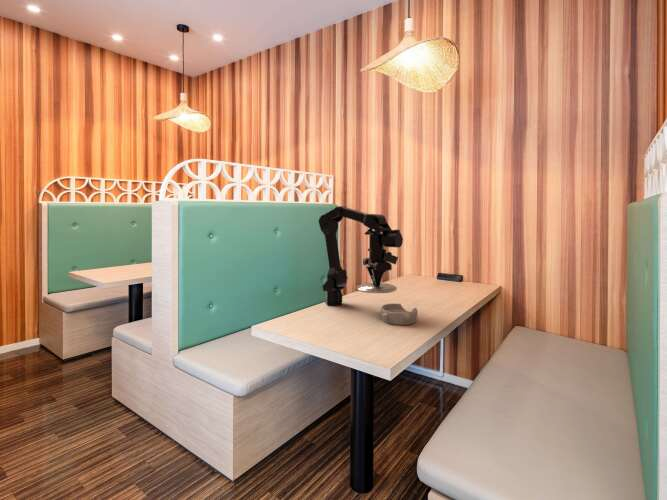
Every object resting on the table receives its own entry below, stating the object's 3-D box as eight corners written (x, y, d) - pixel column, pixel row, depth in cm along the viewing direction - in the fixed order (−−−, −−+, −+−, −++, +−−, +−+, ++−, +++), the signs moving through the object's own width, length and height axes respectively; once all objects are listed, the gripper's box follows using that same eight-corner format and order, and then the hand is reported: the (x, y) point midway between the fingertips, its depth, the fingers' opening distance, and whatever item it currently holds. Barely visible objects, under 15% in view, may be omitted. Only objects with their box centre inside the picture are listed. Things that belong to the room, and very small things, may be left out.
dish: (388, 313, 151) (388, 301, 151) (422, 318, 144) (422, 306, 144) (373, 322, 139) (373, 309, 138) (409, 328, 132) (410, 315, 131)
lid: (363, 294, 141) (363, 280, 140) (351, 286, 156) (351, 273, 156) (402, 292, 144) (403, 278, 144) (388, 284, 160) (388, 272, 159)
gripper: (404, 247, 141) (404, 288, 143) (387, 244, 159) (387, 280, 161) (376, 248, 139) (376, 290, 140) (362, 244, 157) (362, 281, 159)
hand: (376, 285), depth 150 cm, fingers closed on lid, 3 cm apart
